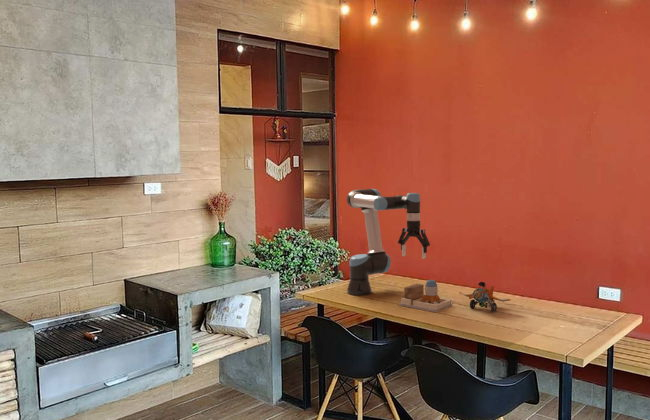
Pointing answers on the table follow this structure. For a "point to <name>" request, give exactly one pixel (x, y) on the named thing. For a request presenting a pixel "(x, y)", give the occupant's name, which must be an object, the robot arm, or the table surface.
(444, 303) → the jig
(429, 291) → the toy rocket
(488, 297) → the toy airplane
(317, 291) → the table surface
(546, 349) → the table surface
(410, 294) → the wing block
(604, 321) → the table surface
